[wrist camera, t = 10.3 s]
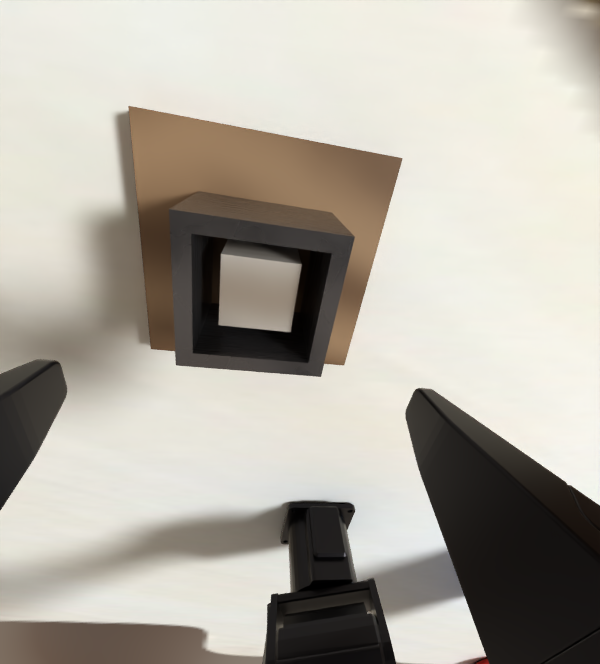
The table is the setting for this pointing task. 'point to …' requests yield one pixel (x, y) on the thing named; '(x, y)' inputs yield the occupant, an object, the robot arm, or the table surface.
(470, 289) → the table surface
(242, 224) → the grey cube shelf
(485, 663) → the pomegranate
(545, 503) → the robot arm
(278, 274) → the post block
